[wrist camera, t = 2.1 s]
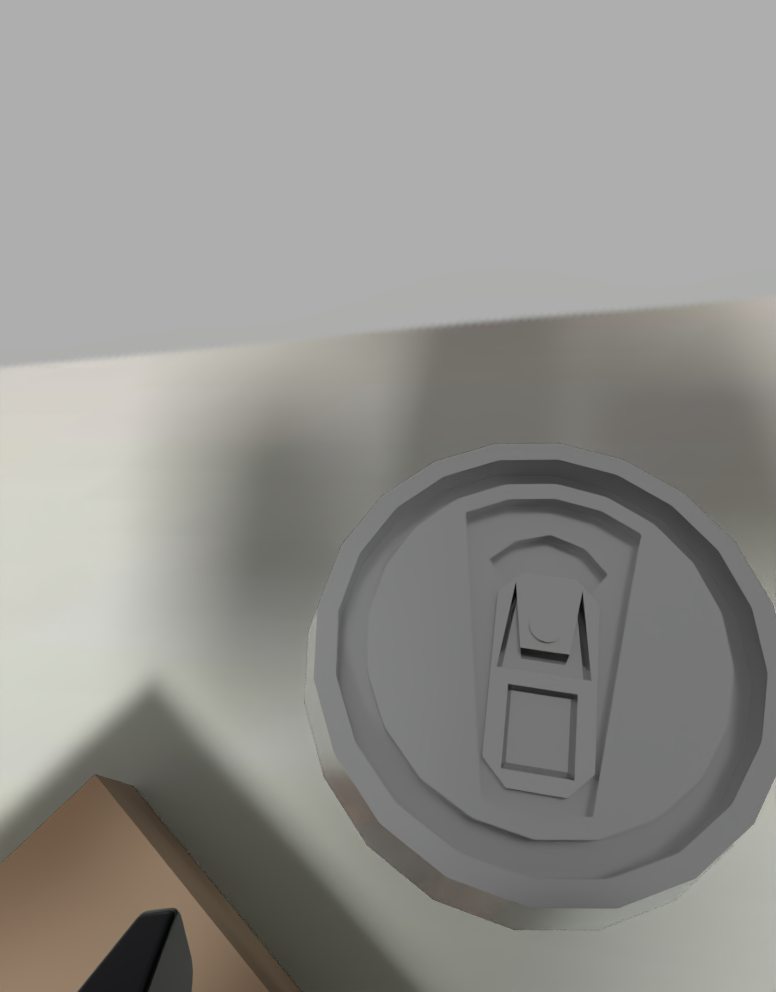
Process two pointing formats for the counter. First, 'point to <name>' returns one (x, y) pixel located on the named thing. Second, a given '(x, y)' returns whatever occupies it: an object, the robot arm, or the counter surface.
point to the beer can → (544, 686)
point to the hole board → (116, 899)
